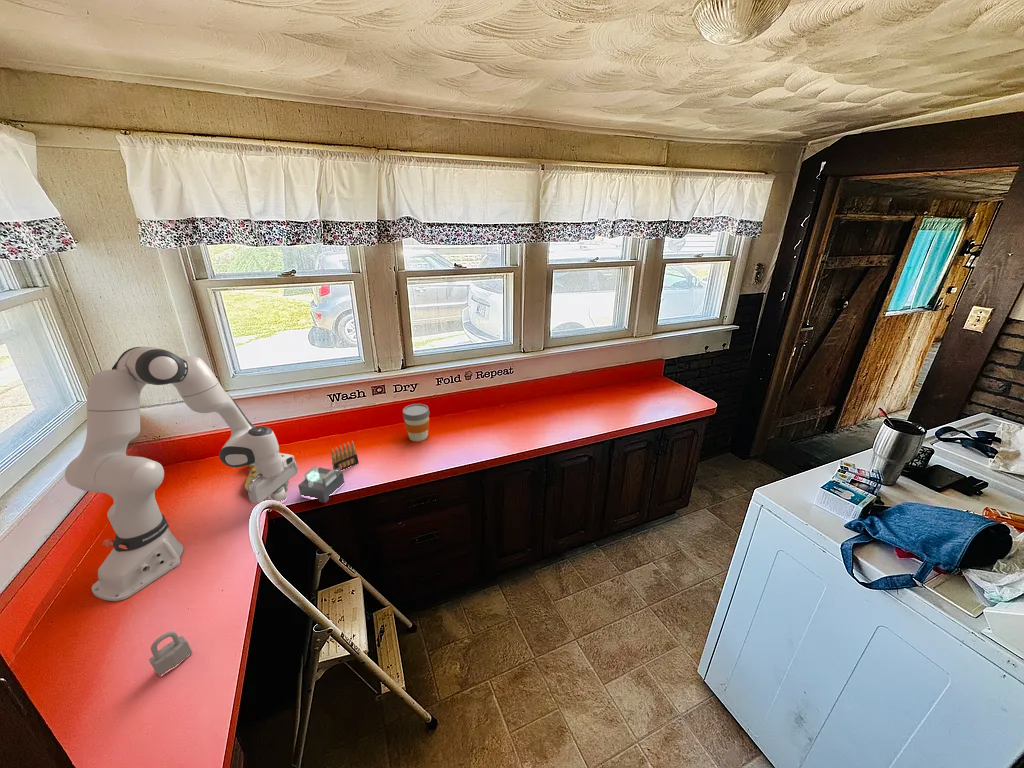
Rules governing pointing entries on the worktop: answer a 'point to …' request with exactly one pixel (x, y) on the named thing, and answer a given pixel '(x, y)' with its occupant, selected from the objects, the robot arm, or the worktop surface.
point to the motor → (321, 483)
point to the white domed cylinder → (279, 494)
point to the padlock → (169, 652)
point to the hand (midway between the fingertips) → (278, 496)
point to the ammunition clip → (344, 457)
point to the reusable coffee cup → (416, 421)
